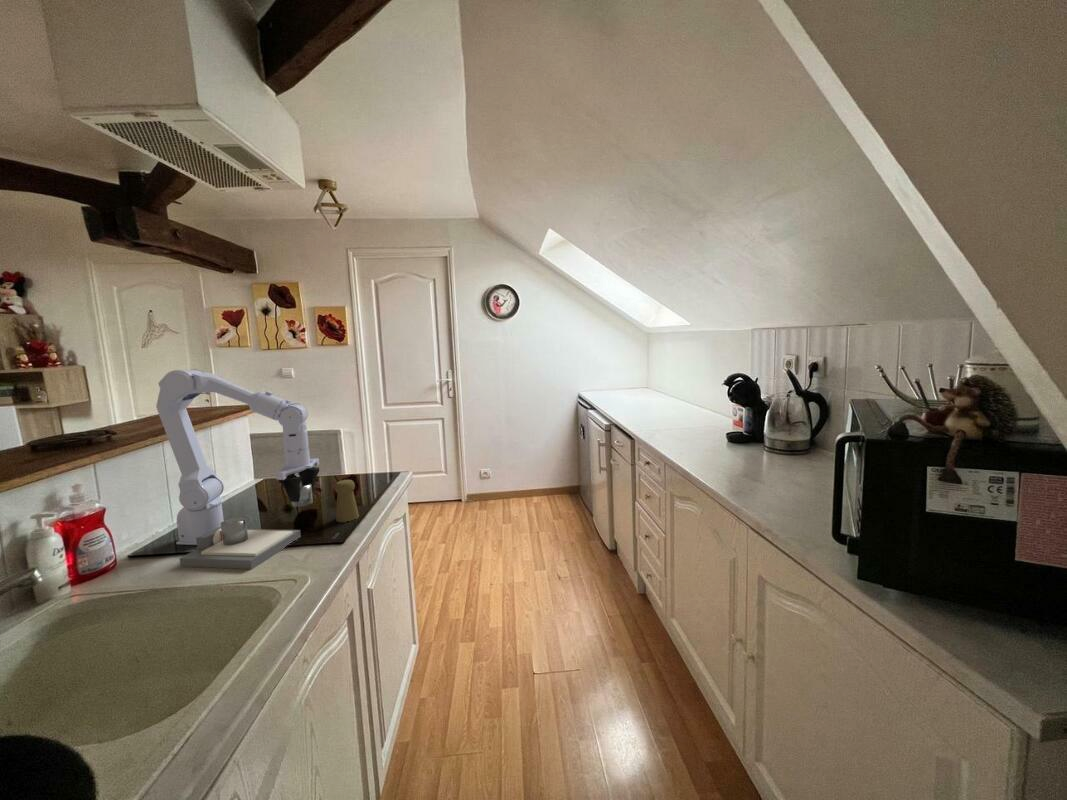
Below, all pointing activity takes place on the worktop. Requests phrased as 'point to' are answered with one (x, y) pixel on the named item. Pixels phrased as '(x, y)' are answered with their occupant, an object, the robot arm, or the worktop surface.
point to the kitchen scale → (238, 549)
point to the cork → (346, 501)
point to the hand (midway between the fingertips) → (301, 497)
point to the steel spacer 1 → (234, 531)
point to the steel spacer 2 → (304, 495)
